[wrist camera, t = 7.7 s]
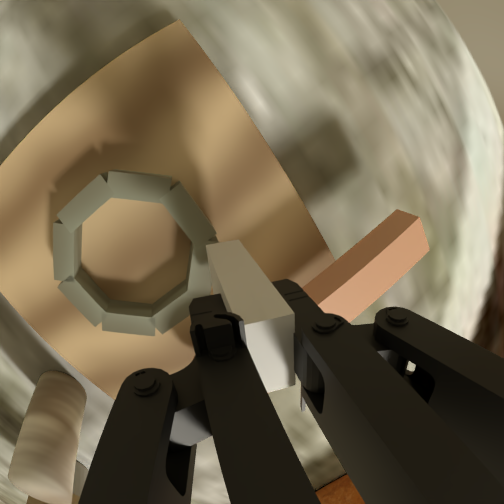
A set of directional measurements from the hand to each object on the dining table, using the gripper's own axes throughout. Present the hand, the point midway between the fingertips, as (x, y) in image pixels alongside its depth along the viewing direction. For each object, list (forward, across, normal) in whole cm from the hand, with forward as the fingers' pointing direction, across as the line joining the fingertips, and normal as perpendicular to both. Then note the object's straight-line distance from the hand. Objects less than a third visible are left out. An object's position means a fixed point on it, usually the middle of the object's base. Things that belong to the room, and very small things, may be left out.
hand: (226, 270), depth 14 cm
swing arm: (+1, +4, -3) cm, 6 cm away
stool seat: (+5, -4, +1) cm, 7 cm away
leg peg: (+5, -14, -10) cm, 18 cm away
